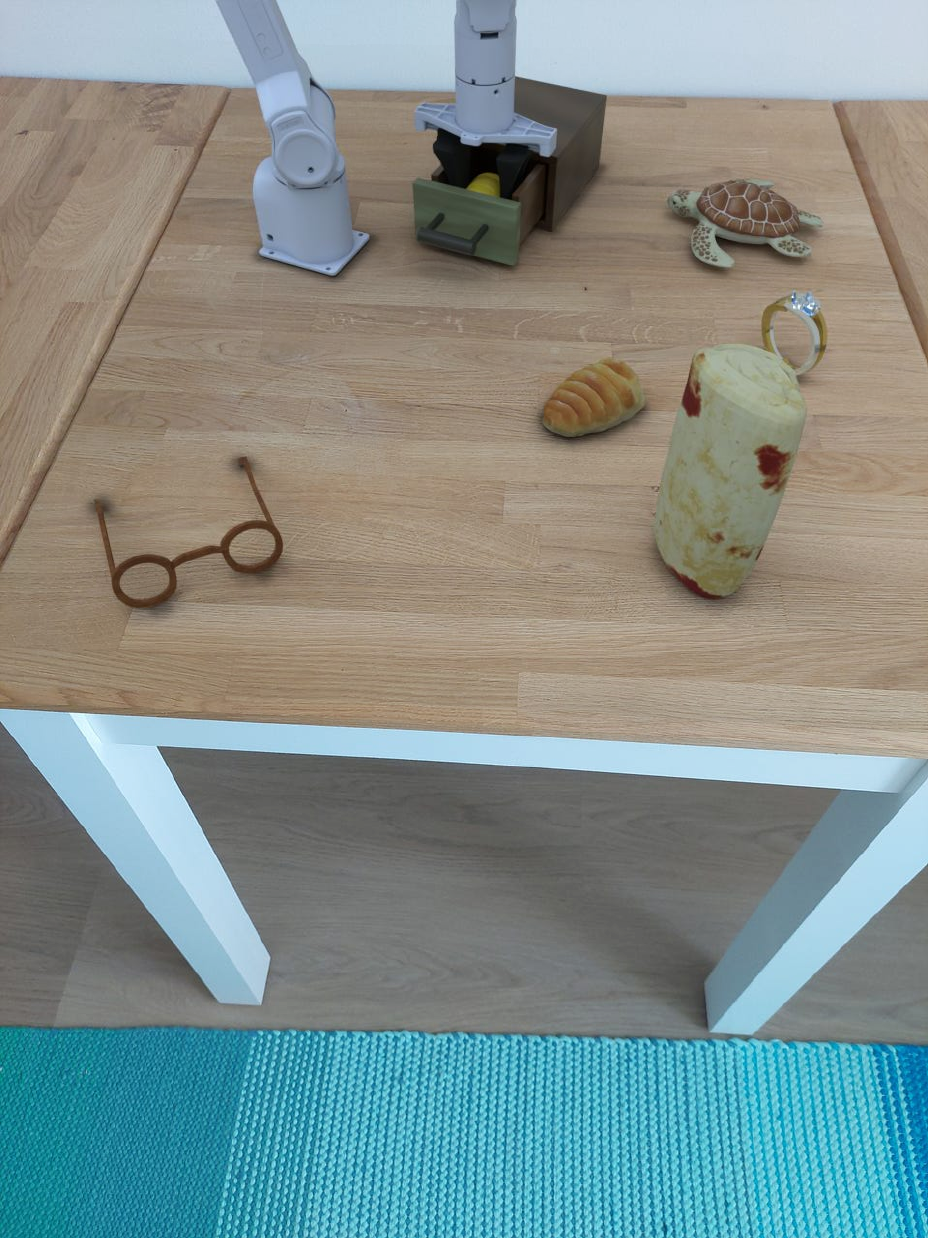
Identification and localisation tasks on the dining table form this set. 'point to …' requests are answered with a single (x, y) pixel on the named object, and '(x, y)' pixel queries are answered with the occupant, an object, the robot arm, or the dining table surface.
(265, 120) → the robot arm
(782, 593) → the dining table surface
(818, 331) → the ring
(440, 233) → the drawer
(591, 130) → the cabinet
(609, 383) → the pastry
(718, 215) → the decorative turtle
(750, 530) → the food model
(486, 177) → the yellow capsule container
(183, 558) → the glasses
